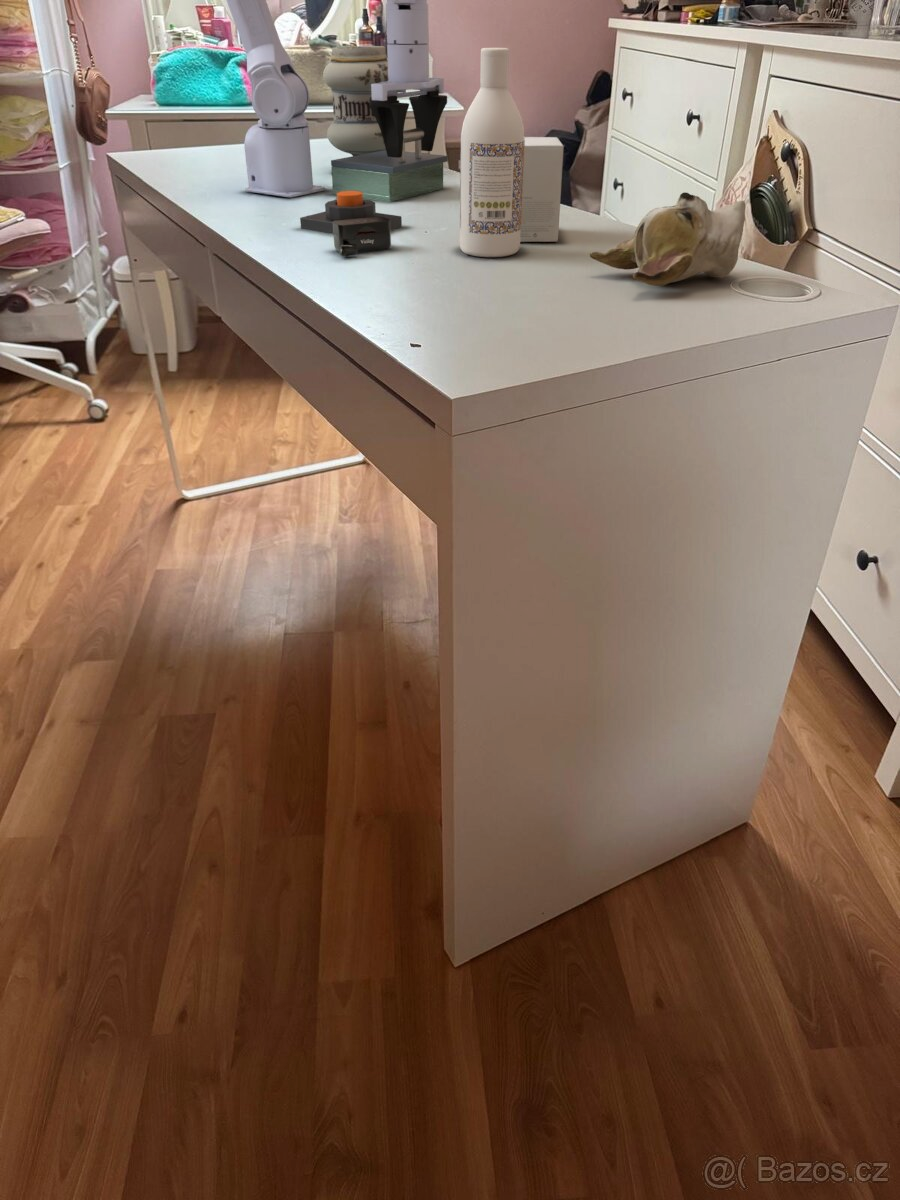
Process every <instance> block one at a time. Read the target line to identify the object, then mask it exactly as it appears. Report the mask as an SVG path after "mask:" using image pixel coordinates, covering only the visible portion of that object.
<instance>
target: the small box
mask: <svg viewBox="0 0 900 1200" xmlns="http://www.w3.org/2000/svg"><path fill="white" fill-rule="evenodd" d="M524 137H525V146H524V169H523V191H522V214H521V233H520V243H529V242H530V243H532V242H533V243H535V242H536V243H537V242H539V243H541V242H542V243H547V242H549V243H550V242H552V243H553V242H554V243H555V242H559V232H560V231H559V228H560V213H561V212H560V211H561V198H562V196H561V195H562V179H563V162H564V148H565V147H564V145H563V143H562V141H560V139H559V137H557V136H524Z"/></svg>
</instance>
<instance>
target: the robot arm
mask: <svg viewBox="0 0 900 1200" xmlns="http://www.w3.org/2000/svg"><path fill="white" fill-rule="evenodd" d="M226 3H227V6H228V8H229V11H230V14H231V16H232V19H233V22H234V25H235V27H236V30H237V32H238V36H239V37H240V40H241V41H240V42H241V43H242V47H243V49H244V51H245V54H246V72H247V76H248V80H249V82H250V89H251V91H250V92H251V93H250V94H251V95H250V102H251V106H252V109H253V111H254V113H255V114H256V116H257V118H259V120H257V124H254V125H252V126H251V127H249V129H248V130H247V132H246V134H245V137H244V141H243V142H244V143H243V144H244V146H243V147H244V155H245V165H246V173H247V182H248V183H247V184H248V187H245V188H244V191H245V192H247V193H255V194H261V195H270V196H277V197H282V198H296V197H300V196H305V195H309V194H314V193H319V192H323V191H326V190H327V188H326V186H323V185H316V184H314V179H313V168H312V167H313V166H312V154H311V139H310V128H309V127H310V126H309V121H308V120H307V118H306V117H305V114H304V113H305V112H306V111H307V108H308V106H309V103H310V92H309V88H308V85H307V83H306V81H305V80H304V79H303V78H302V76H301V75H300V74H299V73H298V72H297V70H296V68H295V67H294V64H293V61H292V58H291V57H290V55H289V53H288V51H286V49H285V48H284V46H283V44H282V42H281V39H280V36H279V33H278V31H277V28H276V25H275V22H274V19H273V16H272V14H271V11H270V7H269V5H268V2H267V0H226ZM385 21H386V22H385V23H386V49H387V50H386V56H387V60H388V81H384V82H380V83H376V84H371V93H372V100H369V106H370V109H371V111H372V112H373V114H374V116H375V118H376V120H377V122H378V125H379V127H380V130H381V133H382V137H383V140H384V144H385V148H386V152H387V156H388V157H396V158H400V157H402V151H403V131H404V130H405V123H406V119H407V113H408V110H409V107H410V106H411V109H412V112H413V118H414V123H415V128H421V129H422V130H423V131H424V137H423V139H422V140H421V152H422V151H423V152H433V149H434V145H435V139H436V135H437V131H438V126H439V124H440V120H441V118H442V114H443V112H444V110H445V108H446V106H447V104H448V95H444V93H445V90H444V89H445V86H444V85H445V84H444V83H445V78H444V77H430V49H429V48H430V47H429V43H430V38H429V37H430V36H429V35H430V34H429V32H430V31H429V27H430V26H429V3H428V0H386V4H385ZM408 90H413V91H408ZM414 90H415V91H414ZM400 98H408V100H409V102H400V100H399V99H400Z"/></svg>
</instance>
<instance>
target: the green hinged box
mask: <svg viewBox="0 0 900 1200" xmlns="http://www.w3.org/2000/svg"><path fill="white" fill-rule="evenodd" d="M330 167H331V182H332V194H333V195H334V196H335V195H336V196H337V193H338V192H341V191H359V192H362V193H363V199H364V200H371V201H373V200H374V201H378V202H379V201H380V202H387V203H390V202H396V201H399V200H402V199H404V200H405V199H409V198H413V197H417V196H420V195H424V194H428V193H431V192H436V191H440V190H444V162H443V163H439V164H434V165H430V166H425V167H421V168H416V169H411V170H407V171H402V172H398V173H384V172H376V171H367V170H359V169H350V168H341V167H333V166H330Z"/></svg>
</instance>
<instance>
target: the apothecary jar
mask: <svg viewBox="0 0 900 1200" xmlns="http://www.w3.org/2000/svg"><path fill="white" fill-rule="evenodd" d="M322 74H323V75H322V78H323V81H324V83H325V84H326V85H327V87H328V88H330V91H331V97H332V98H331V100H332V110H333V111H332V113H333V121H332V122H331V124H330V125H328V127H327V131H326V136H327V137H326V138H327V139H328V141H329V143H330V144H331V145H332V146H333V147H334V148H335V149H337V150H339V151H341V152H343V153H346V154H350V155H351V156H357V155H362V154H368V153H373V152H378V151H383V150H386V148H385V144H384V140H383V137H382V133H381V130H380V127H379V125H378V122H377V120H376V118H375V116H374V114H373V112H372V111H371V109H370V106H369V100H372V93H371V84H376V83H380V82H384V81H388V56H387V50H386V47H385V46H384V45H355V46H353V45H352V46H335V47H332V48H331V57H330V62H329V63H327V64H326V66H325V68H324V70H323V73H322Z"/></svg>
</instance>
